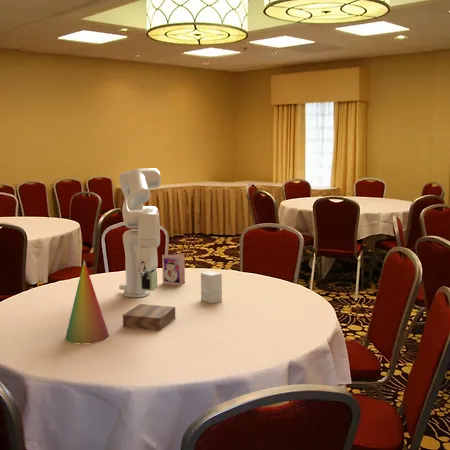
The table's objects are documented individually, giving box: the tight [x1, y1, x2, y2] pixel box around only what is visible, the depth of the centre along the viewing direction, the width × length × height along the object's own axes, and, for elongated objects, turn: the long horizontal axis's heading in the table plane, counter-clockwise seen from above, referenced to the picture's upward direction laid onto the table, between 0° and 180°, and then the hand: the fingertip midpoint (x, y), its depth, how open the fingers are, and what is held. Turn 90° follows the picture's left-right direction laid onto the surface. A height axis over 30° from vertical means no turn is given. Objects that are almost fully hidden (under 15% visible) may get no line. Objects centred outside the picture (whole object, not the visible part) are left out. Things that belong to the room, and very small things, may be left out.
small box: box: [200, 270, 223, 304], centre depth 268 cm, size 8×6×13 cm
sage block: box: [141, 270, 158, 292], centre depth 235 cm, size 5×5×7 cm
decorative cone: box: [65, 260, 110, 345], centre depth 219 cm, size 16×16×30 cm
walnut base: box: [122, 303, 176, 332], centre depth 237 cm, size 16×16×5 cm
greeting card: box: [161, 253, 186, 287], centre depth 300 cm, size 11×7×15 cm, turn 62°
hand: (149, 286), depth 235 cm, fingers closed on sage block, 5 cm apart
